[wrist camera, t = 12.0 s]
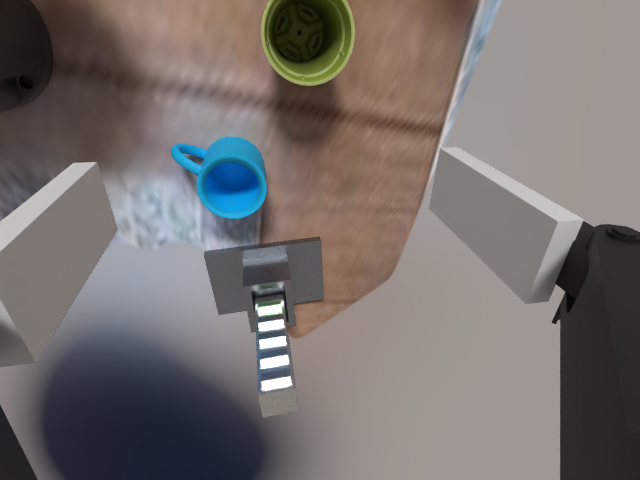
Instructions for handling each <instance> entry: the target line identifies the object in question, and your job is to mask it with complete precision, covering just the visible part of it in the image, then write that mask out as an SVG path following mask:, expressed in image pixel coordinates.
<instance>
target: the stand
mask: <svg viewBox="0 0 640 480" xmlns="http://www.w3.org/2000/svg"><path fill="white" fill-rule="evenodd" d="M204 258H205V261H206V266H207V270H208V274H209V277H210V282H211V286H212V290H213V294H214V298H215V302H216V305H217V310H218V313H219V315H221V314H228V313H234V312H241V311H247V312H248V317H249V322H250V328H251V332H256V314H255V298H262V297H268V296H275V295H282V294H283V299H284V307H285V314H286V321H287V327H290V326H296V322H295V313H294V304H295V303H302V302H308V301H315V300H322V299H324V296H323V276H322V256H321V240H320V237H314V238H306V239H298V240H290V241H282V242H274V243H267V244H259V245H251V246H243V247H235V248H227V249H219V250H211V251H205V253H204Z"/></svg>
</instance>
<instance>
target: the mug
mask: <svg viewBox="0 0 640 480" xmlns="http://www.w3.org/2000/svg"><path fill="white" fill-rule="evenodd" d="M182 153H184V154H190V155H193V156H197V157H200V158H202V159H203V162H202V166H200V165H198V164H196V163H195V162H193V161H191V160H190V159H188V158H187V157H186V156H184V155H183V154H182ZM171 155H172V157H173V158H174V159H175V161H176V162H177V163H179V164H180V165H181V166H182V167H184V168H185V169H187V170H189V171H190V172H192V173H194V174H196V175H198V179H197V192H198V196H199V198H200V200H201V202H202V203H203V205H204V206H205V207H206V208H207V209H208V210H209V211H211V212H212V213H214V214H216V215H218V216H220V217H224V218H228V219H239V218H243V217H246V216H249V215H251V214H252V213H254V212H255V211H257V210H258V209H259V207H260V206H261V205H262V203H263V202H264V199H265V196H266V193H267V186H266V176H265V168H264V161H263V158H262V156H261V153H260V152H259V150H258V149H257V148H256V146H255V145H253V144H252V143H251V142H249V141H248V140H246V139H242V138H239V137H225V138H222V139H219V140H217V141H216V142H214V143H213V144H212V145H211V146H210V147H209V149H208V150H207V151H206V150H204V149H201V148H198V147H195V146H192V145H187V144H177V145H175V146H173V147H172V148H171Z"/></svg>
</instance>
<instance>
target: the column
mask: <svg viewBox="0 0 640 480" xmlns="http://www.w3.org/2000/svg"><path fill="white" fill-rule="evenodd" d="M255 314H256V343H257V373H258V374H257V375H258V396H259V401H260V406H261V411H262V416H263V418H264V417H270V416H275V415H280V414H285V413H291V412H296V411H298V403H297V395H296V387H295V380H294V372H293V366H292V358H291V351H290V343H289V336H288V329H287V321H286V314H285V307H284V299H283V294H282V295H275V296H268V297H262V298H255Z"/></svg>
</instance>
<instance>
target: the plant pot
mask: <svg viewBox="0 0 640 480" xmlns="http://www.w3.org/2000/svg"><path fill="white" fill-rule="evenodd" d="M303 9H305V10H308V11H309V12H311V13H312V15H313V16H312V17H310V16H309V15H308V14H306V13H305V12H303V11H302V10H303ZM282 17H284V18H285V19H284V20H283V22H282V25H281V29H279V28H278V26H279V23H280V19H281V18H282ZM298 31H301V35H300V36H299V35H298V34H297V32H298ZM317 37H319V42H318V45H317V47H316V48H313V46H314V44H315V43H316V40H317ZM261 39H262V45H263V49H264V52H265V55H266V57H267V59H268V61H269V63H270V64H271V66H272V67H273V68H274V69H275V71H276V72H277V73H278V74H280V75H281V76H282V77H283V78H285V79H286V80H288V81H290V82H292V83H295V84H299V85H304V86H314V85H319V84H322V83H325V82H327V81H329V80H331V79H333V78H334V77H335V76H336V75H338V74H339V73H340V72H341V70H342V69H343V68H344V67H345V65H346V64H347V62H348V60H349V58H350V55H351V53H352V50H353V46H354V39H355V26H354V20H353V16H352V12H351V10H350V7H349V5H348V3H347V1H346V0H269V2H268V4H267V6H266V8H265V11H264V14H263V18H262V24H261ZM286 49H288V50H290V51H291V52H293V53H295V54H296V56H292V55H290V54H288V53H287V52H286Z"/></svg>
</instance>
